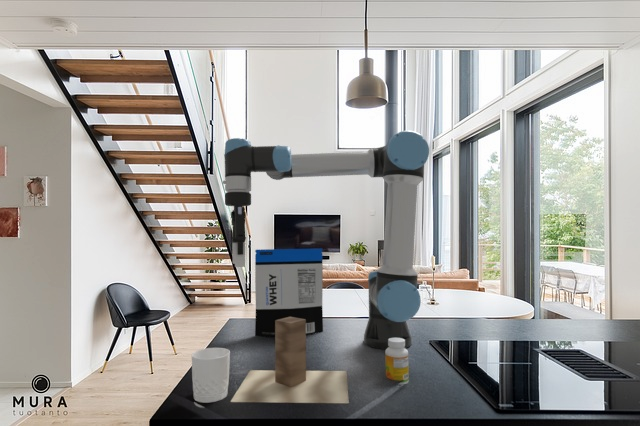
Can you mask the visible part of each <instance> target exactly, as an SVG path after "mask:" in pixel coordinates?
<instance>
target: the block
mask: <svg viewBox="0 0 640 426" xmlns="http://www.w3.org/2000/svg"><path fill="white" fill-rule="evenodd" d="M274 340H275V342H274V343H275V345H274V346H275V347H274V349H275V350H274V354H275V357H274V358H275V359H274V360H275V361H274V363H275V364H274V365H275V369H274V370H275V382H276V383H279V384H282V385H285V386H288V387H293V386H296V385H298V384H300V383H302V382H304V381H306V371H307V336H306V319H301V318H295V317H287V318H282V319H278V320H275V338H274Z"/></svg>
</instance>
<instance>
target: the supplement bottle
mask: <svg viewBox="0 0 640 426" xmlns="http://www.w3.org/2000/svg"><path fill="white" fill-rule="evenodd" d="M388 346H389V347H388V348H387V349H385V350H384V351H385V352H384V353H385V354H384V355H385V377H386V378H388V379H389V380H391V381H400V382H399V383H397V384H396V386H403V385H407V384H408V383H409V382H410V377H409V376H410V373H409V371H410V370H409V369H410V368H409V367H410V366H409V351H408V348H404V347H405V340H404V339H402V338H389V339H388Z"/></svg>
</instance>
